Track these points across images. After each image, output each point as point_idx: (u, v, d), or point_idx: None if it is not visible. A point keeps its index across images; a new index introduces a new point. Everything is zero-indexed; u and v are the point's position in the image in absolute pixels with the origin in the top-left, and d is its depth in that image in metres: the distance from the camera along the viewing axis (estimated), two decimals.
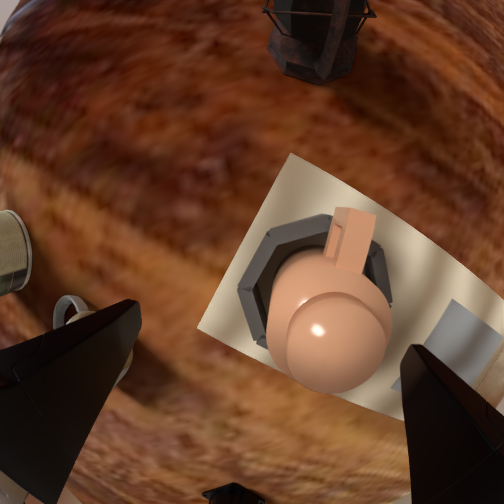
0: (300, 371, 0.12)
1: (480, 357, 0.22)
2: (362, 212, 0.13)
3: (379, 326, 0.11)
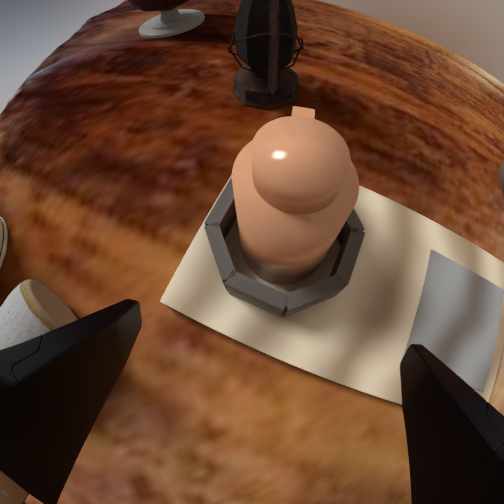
0: (267, 166, 0.12)
1: (489, 314, 0.20)
2: (303, 108, 0.17)
3: (333, 130, 0.13)
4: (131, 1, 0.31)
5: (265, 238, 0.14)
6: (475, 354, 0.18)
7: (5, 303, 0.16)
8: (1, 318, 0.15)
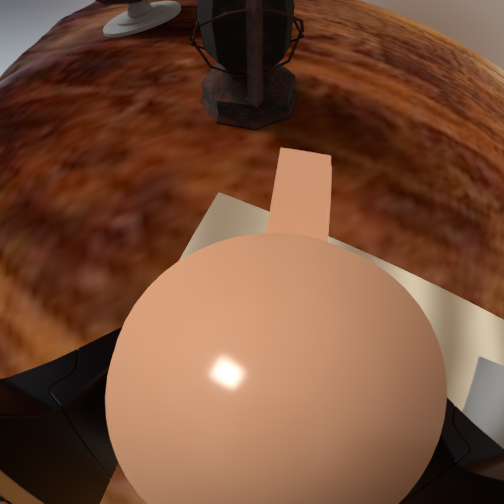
0: (157, 481, 0.03)
1: None
2: (304, 153, 0.08)
3: (408, 301, 0.03)
4: None
5: None
6: None
7: None
8: None
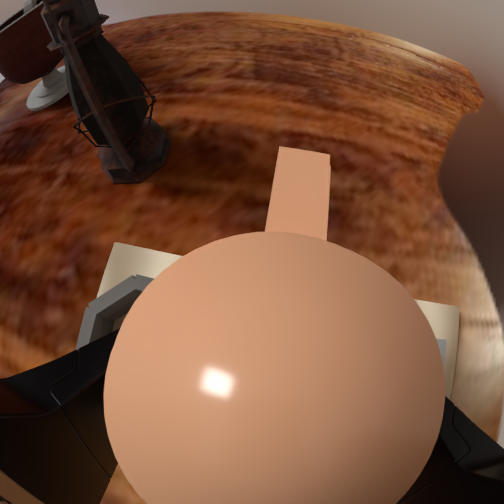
0: (155, 479, 0.03)
1: None
2: (303, 152, 0.08)
3: (406, 299, 0.03)
4: (7, 79, 0.26)
5: None
6: None
7: None
8: None
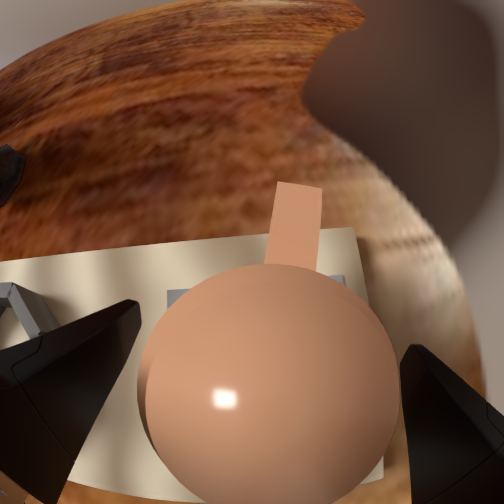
0: (184, 460, 0.04)
1: None
2: (298, 186, 0.09)
3: (370, 328, 0.05)
4: None
5: None
6: None
7: None
8: None
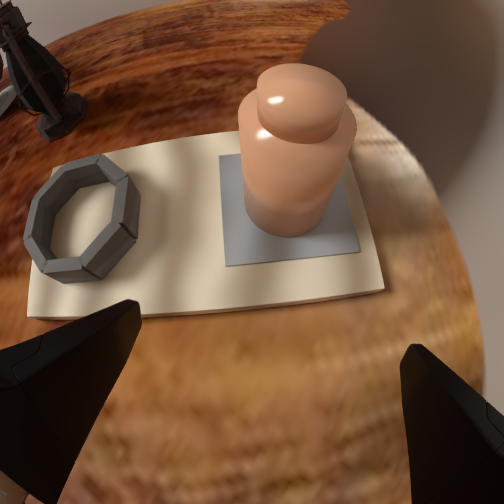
0: (272, 97, 0.12)
1: None
2: None
3: (330, 74, 0.13)
4: None
5: (271, 170, 0.15)
6: (321, 220, 0.22)
7: None
8: None
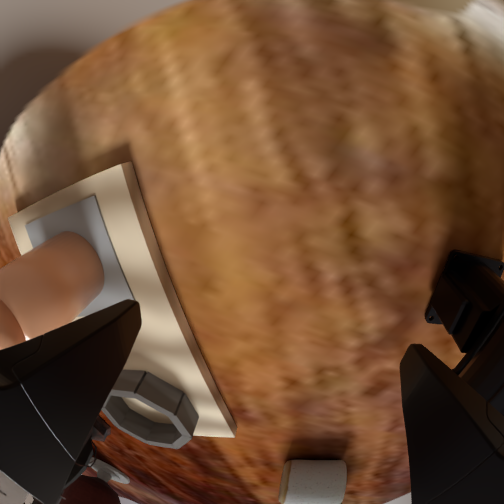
0: None
1: (48, 235, 0.21)
2: None
3: None
4: None
5: None
6: (79, 234, 0.20)
7: None
8: None
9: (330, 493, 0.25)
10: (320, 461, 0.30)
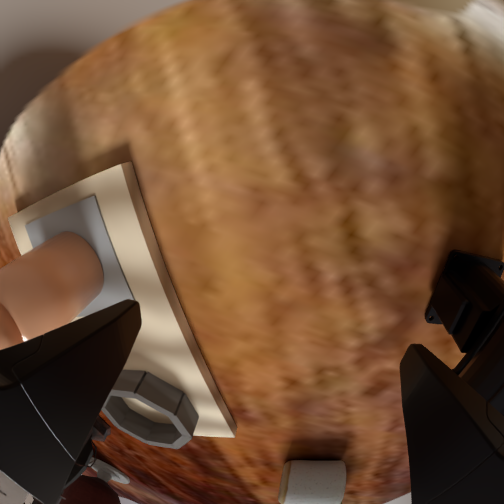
0: None
1: (48, 235, 0.21)
2: None
3: None
4: None
5: None
6: (79, 234, 0.20)
7: None
8: None
9: (330, 493, 0.26)
10: (320, 462, 0.30)
